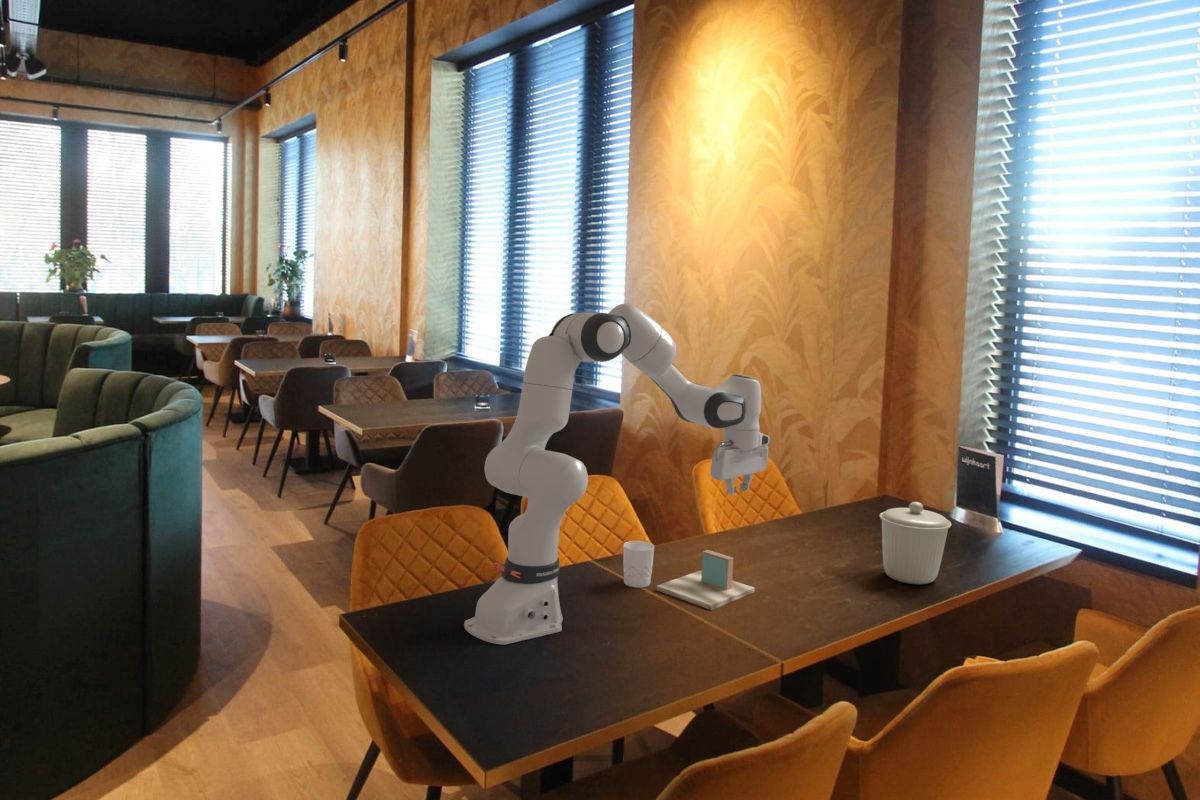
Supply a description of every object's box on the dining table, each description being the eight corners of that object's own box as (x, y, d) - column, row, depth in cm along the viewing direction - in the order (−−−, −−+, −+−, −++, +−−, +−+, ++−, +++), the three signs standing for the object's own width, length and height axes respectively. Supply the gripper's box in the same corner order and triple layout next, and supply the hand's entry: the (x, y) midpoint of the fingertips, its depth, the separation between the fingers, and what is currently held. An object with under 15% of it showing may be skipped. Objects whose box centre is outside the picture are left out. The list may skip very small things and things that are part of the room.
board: (711, 610, 201) (711, 605, 201) (656, 590, 213) (656, 585, 213) (754, 592, 214) (754, 587, 214) (700, 574, 226) (700, 570, 225)
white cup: (650, 590, 213) (651, 551, 211) (619, 586, 214) (620, 548, 213) (654, 579, 220) (656, 542, 219) (624, 576, 222) (626, 539, 220)
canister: (956, 580, 229) (964, 504, 226) (927, 595, 217) (935, 515, 214) (893, 562, 242) (899, 490, 239) (862, 576, 229) (868, 500, 226)
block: (726, 590, 211) (728, 559, 210) (700, 581, 216) (702, 551, 215) (731, 588, 213) (733, 557, 211) (705, 579, 218) (707, 549, 217)
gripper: (727, 445, 205) (723, 501, 207) (773, 436, 220) (770, 489, 222) (706, 441, 209) (703, 496, 211) (753, 433, 224) (749, 484, 226)
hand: (737, 492), depth 216 cm, fingers open, 4 cm apart
